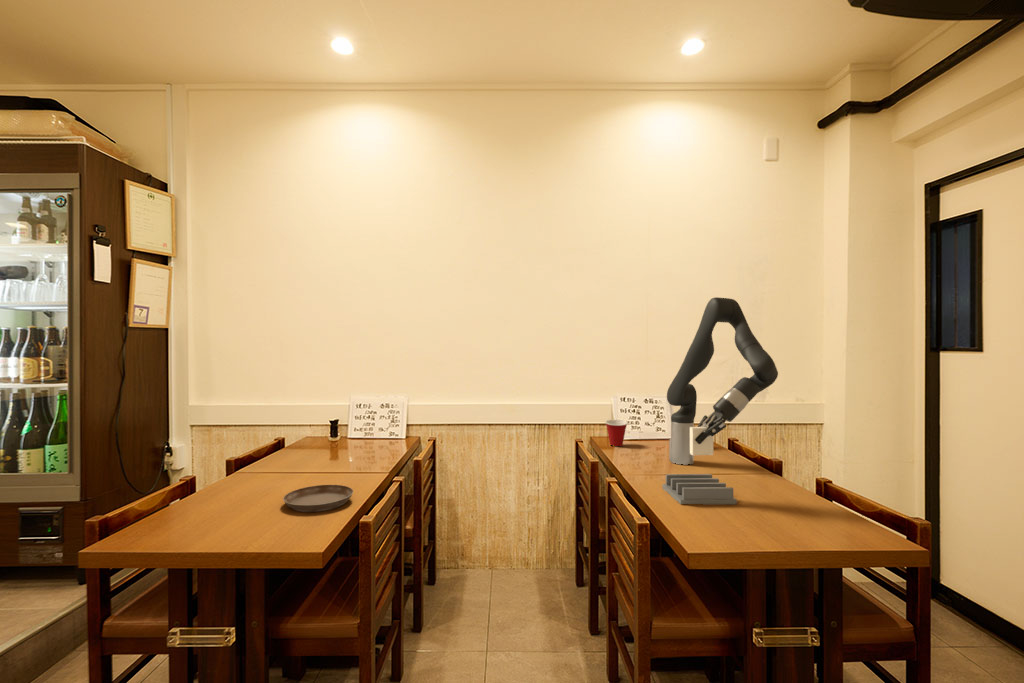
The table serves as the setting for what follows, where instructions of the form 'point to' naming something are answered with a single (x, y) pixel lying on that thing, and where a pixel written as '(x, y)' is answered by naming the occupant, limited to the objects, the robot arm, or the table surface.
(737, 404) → the robot arm
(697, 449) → the tall cream block
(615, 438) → the plastic cup
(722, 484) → the dish rack
